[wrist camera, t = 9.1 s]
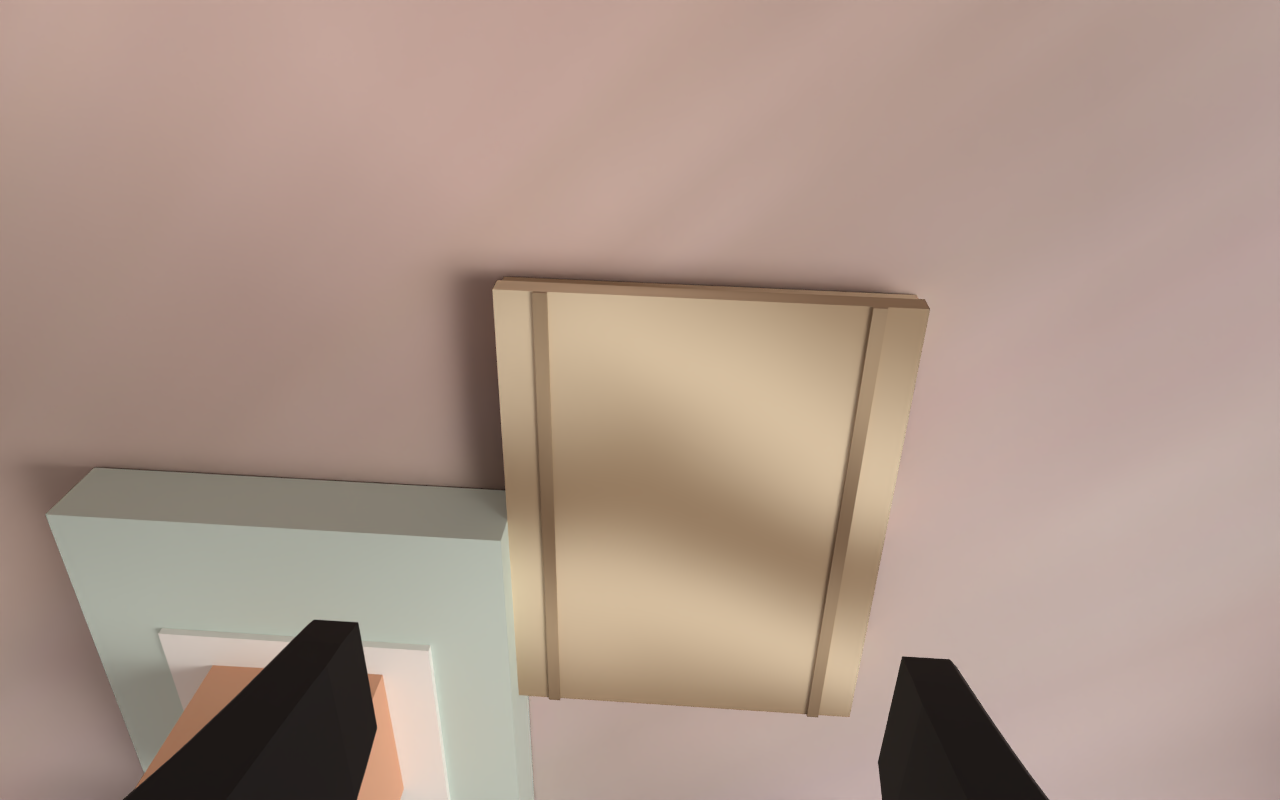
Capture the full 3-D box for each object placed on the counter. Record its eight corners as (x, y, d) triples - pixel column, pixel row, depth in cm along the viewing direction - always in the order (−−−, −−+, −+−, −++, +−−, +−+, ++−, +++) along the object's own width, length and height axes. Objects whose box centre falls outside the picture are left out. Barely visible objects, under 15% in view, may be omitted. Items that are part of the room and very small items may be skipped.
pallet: (843, 682, 25) (850, 719, 24) (526, 662, 26) (518, 697, 25) (917, 286, 19) (930, 310, 18) (503, 267, 20) (491, 291, 19)
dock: (536, 837, 30) (507, 999, 25) (211, 813, 30) (128, 968, 26) (516, 490, 23) (472, 633, 18) (94, 467, 23) (-46, 601, 19)
